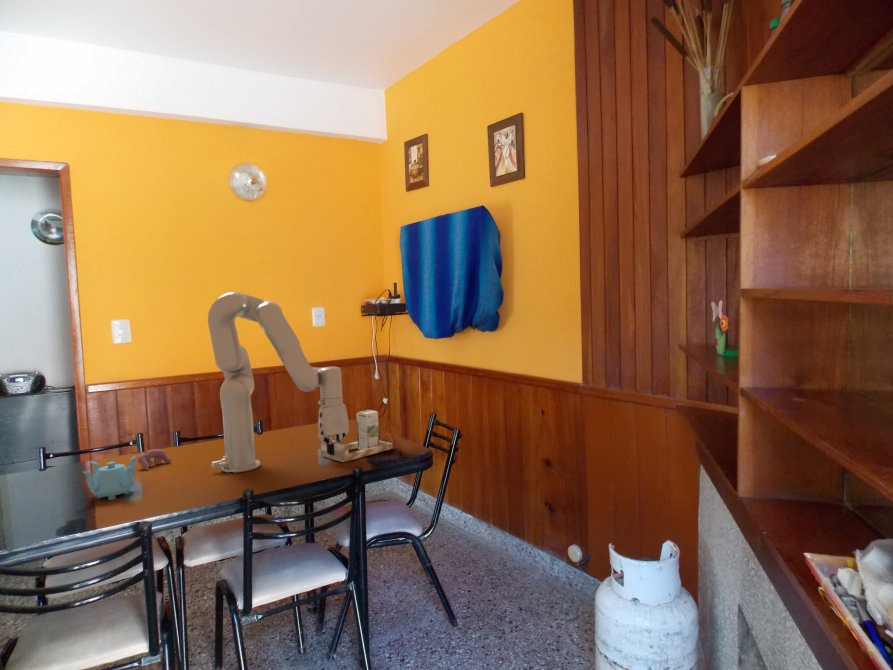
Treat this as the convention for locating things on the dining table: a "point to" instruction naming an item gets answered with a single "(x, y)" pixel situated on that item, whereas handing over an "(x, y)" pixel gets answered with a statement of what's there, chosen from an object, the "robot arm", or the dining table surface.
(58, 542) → the dining table surface
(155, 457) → the pink animal figurine
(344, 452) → the frame
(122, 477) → the teapot
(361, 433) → the syrup box
